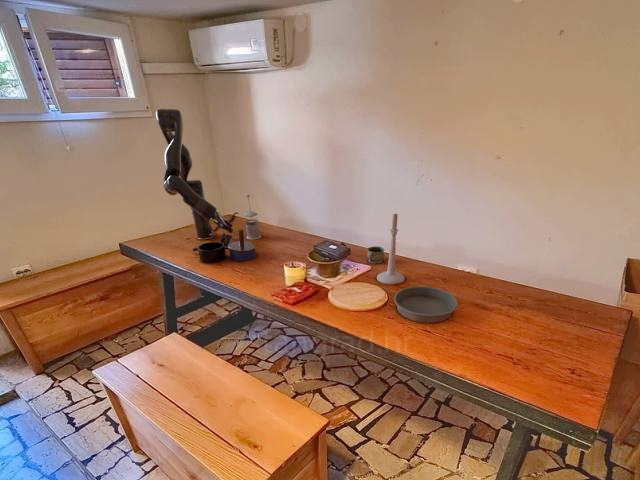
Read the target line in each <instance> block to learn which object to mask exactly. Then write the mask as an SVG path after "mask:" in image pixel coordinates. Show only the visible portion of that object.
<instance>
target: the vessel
mask: <svg viewBox="0 0 640 480" xmlns="http://www.w3.org/2000/svg"><path fill="white" fill-rule="evenodd" d="M384 251H385V248H384V247H382V246H376V245H375V246H369V247H367V254H366V255H367V257H366V258H367V259H368V260H367V261H368V262H369V263H370V264H382V263H383V261H384V258H385V254H384Z"/></svg>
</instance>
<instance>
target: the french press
mask: <svg viewBox="0 0 640 480" xmlns="http://www.w3.org/2000/svg"><path fill="white" fill-rule="evenodd" d="M250 197H251V195H250V194H246V198H247V201H250ZM248 207H249V208H251V205H250V203H248ZM243 216H244V217H246V218H250V219H248V220H246V221H245V228H246V234H247V235H246V236H245V238H246V239H247V240H259V239H261V238H262V234H261V233H260V221H259V220H258V217H256V216H258V213H257V212H256V211H251V210H249V211H247V212H245V213H243ZM253 217H255V218H253Z"/></svg>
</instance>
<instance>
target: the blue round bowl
mask: <svg viewBox="0 0 640 480" xmlns="http://www.w3.org/2000/svg"><path fill="white" fill-rule="evenodd" d="M228 250H229V251H228V252H229V255H230V256H229V257H230V259H231V260H232V261H234V262H248V261H251V260H254V259H255V258H256V257H257V250H256V248H255V249H253V250H250V251H234V250H231V249H228Z"/></svg>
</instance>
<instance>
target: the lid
mask: <svg viewBox="0 0 640 480" xmlns="http://www.w3.org/2000/svg"><path fill="white" fill-rule="evenodd" d="M237 233H238V241H234V242H232V243H230V244H228V248H229V249H231V250H234V251H250V250H253V249H255V250H256V244H255V243H253V242H251V241H245V236H244V235H245V234H244V233H245V232H244V229H242V228H239V229H238V230H237ZM229 249H228V250H229Z"/></svg>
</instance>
